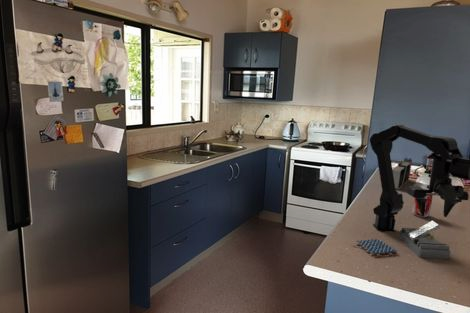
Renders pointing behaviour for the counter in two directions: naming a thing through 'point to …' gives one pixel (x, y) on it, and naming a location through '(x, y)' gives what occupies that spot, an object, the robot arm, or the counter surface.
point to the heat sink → (425, 245)
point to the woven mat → (376, 248)
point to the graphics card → (402, 173)
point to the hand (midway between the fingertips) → (433, 216)
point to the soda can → (427, 207)
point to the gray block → (423, 230)
